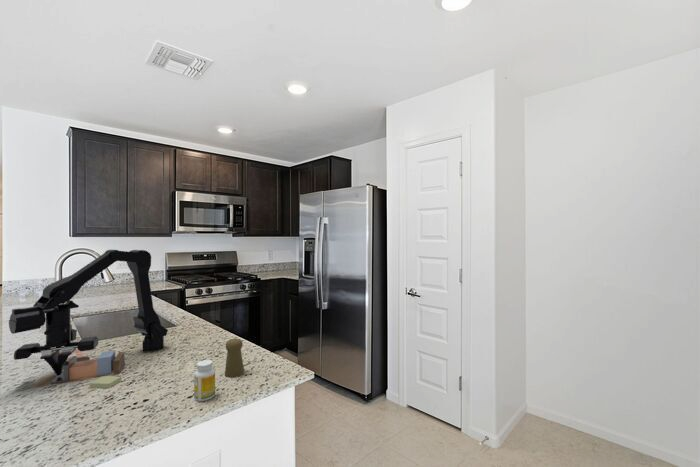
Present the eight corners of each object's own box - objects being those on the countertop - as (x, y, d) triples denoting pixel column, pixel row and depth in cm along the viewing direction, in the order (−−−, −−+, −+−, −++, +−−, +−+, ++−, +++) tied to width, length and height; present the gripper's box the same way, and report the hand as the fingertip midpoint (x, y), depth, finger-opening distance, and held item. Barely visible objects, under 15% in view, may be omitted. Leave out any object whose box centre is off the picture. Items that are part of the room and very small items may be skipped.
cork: (248, 370, 107) (247, 337, 107) (236, 378, 102) (235, 343, 102) (233, 368, 109) (232, 335, 109) (220, 376, 104) (219, 341, 103)
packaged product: (46, 350, 116) (82, 342, 124) (47, 363, 116) (82, 355, 124) (57, 362, 105) (95, 353, 112) (57, 377, 105) (95, 367, 112)
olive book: (121, 385, 98) (121, 376, 98) (109, 393, 94) (109, 383, 94) (102, 385, 99) (102, 376, 99) (90, 392, 94) (89, 383, 94)
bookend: (77, 371, 105) (76, 355, 105) (68, 381, 98) (67, 365, 98) (61, 373, 104) (60, 358, 103) (50, 384, 96) (50, 367, 96)
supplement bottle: (190, 401, 88) (189, 366, 88) (201, 391, 94) (200, 358, 94) (208, 402, 88) (208, 367, 88) (219, 392, 93) (218, 359, 93)
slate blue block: (115, 366, 109) (115, 350, 109) (111, 373, 103) (110, 356, 103) (102, 368, 107) (102, 352, 107) (97, 375, 102) (97, 358, 102)
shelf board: (124, 367, 111) (124, 351, 111) (119, 377, 103) (118, 360, 103) (42, 380, 102) (42, 362, 102) (29, 392, 94) (29, 373, 94)
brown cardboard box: (102, 368, 107) (102, 358, 107) (97, 375, 102) (97, 364, 102) (75, 373, 104) (75, 362, 104) (69, 380, 99) (69, 368, 99)
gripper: (102, 315, 111) (103, 360, 112) (30, 321, 103) (31, 370, 104) (92, 323, 101) (93, 373, 101) (12, 331, 93) (13, 385, 94)
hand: (59, 374), depth 100 cm, fingers closed
